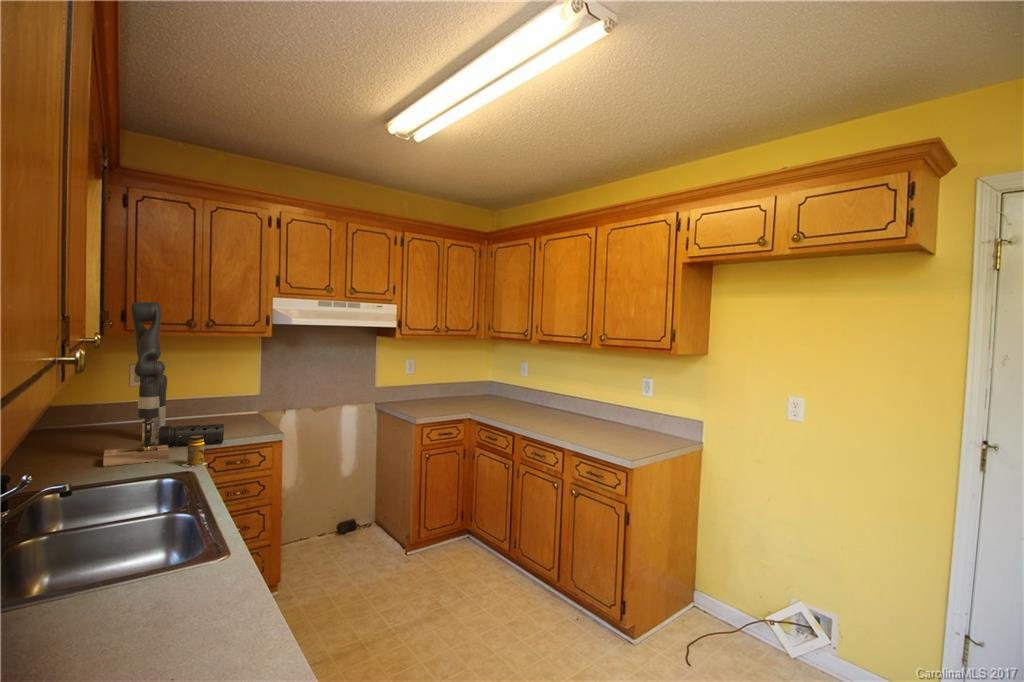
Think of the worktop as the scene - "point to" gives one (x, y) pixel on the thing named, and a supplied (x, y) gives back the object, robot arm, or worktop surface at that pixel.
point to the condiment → (196, 451)
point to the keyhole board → (135, 455)
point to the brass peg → (144, 440)
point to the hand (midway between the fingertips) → (147, 445)
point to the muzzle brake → (188, 434)
